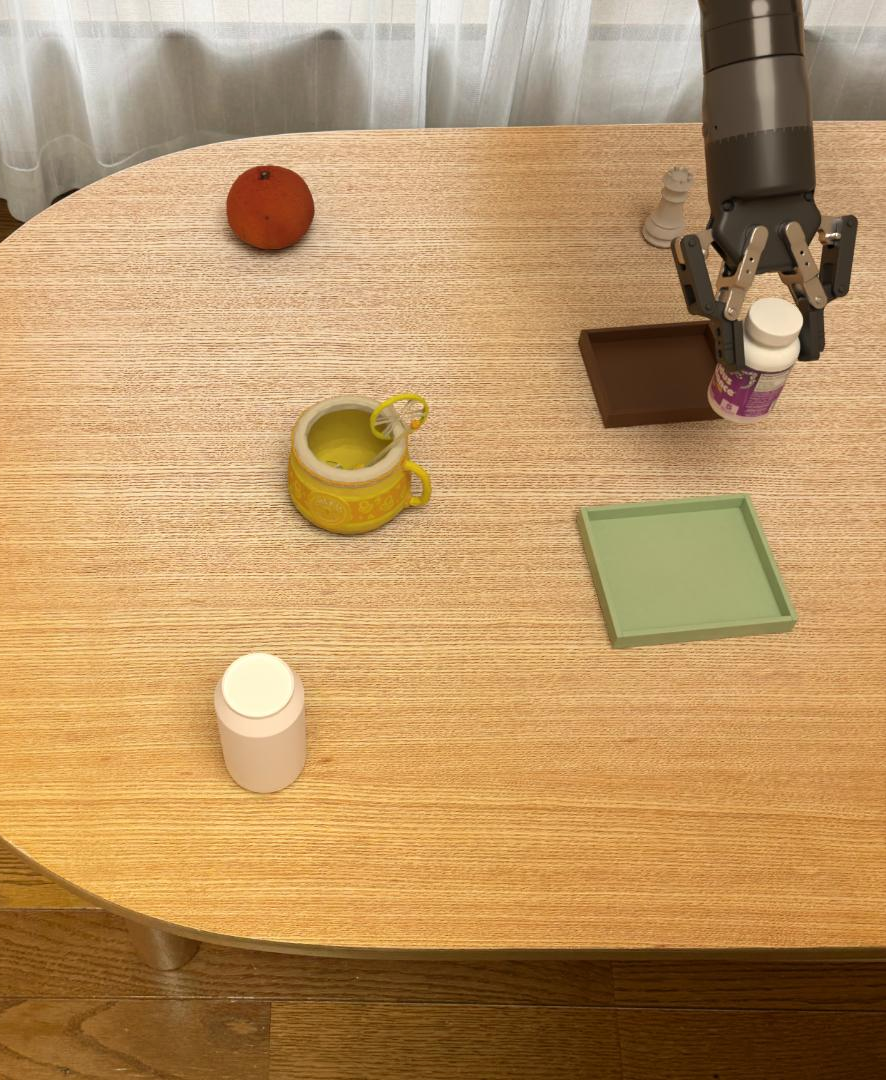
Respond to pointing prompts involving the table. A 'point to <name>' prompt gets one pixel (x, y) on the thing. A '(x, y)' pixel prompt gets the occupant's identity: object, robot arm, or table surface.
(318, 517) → the mug
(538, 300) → the table surface
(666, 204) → the rook chess piece
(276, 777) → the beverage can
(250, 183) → the fruit
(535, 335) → the table surface
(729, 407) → the pill bottle
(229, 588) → the table surface
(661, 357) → the walnut tray
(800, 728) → the table surface
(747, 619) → the green tray
